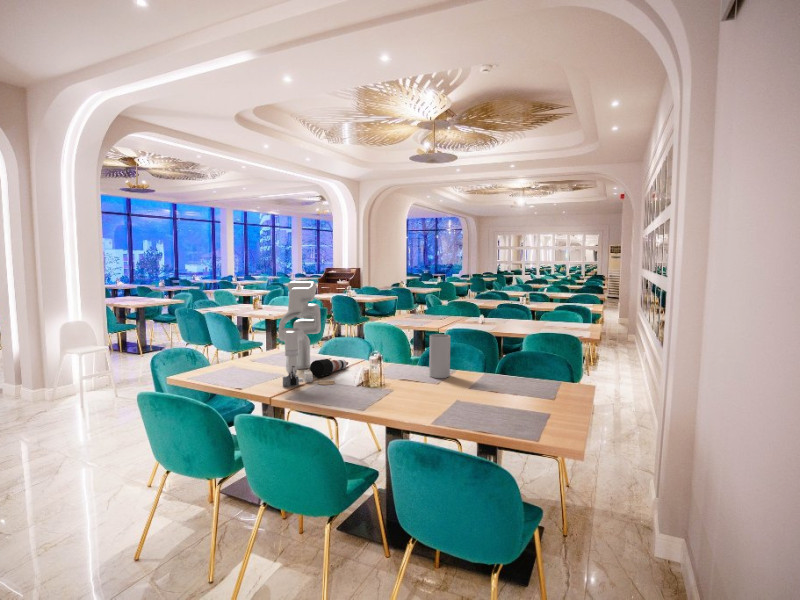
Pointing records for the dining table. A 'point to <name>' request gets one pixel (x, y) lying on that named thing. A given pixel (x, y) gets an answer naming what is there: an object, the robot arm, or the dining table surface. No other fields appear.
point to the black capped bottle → (326, 366)
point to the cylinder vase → (439, 356)
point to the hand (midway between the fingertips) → (292, 383)
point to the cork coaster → (326, 382)
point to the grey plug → (287, 381)
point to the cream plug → (308, 376)
